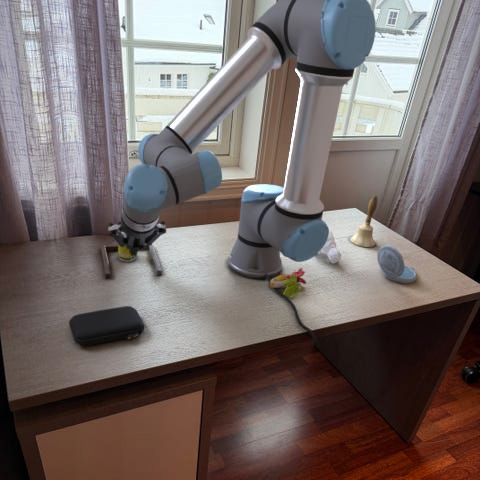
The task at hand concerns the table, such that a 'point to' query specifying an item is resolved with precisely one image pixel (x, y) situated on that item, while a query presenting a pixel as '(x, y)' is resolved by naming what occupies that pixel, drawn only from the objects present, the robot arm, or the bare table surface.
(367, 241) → the hand bell
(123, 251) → the supplement bottle
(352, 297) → the table surface
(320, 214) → the robot arm
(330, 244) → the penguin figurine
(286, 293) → the bird rattle
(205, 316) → the table surface
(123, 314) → the carrying case
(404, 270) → the pocket watch
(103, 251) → the bay
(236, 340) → the table surface
